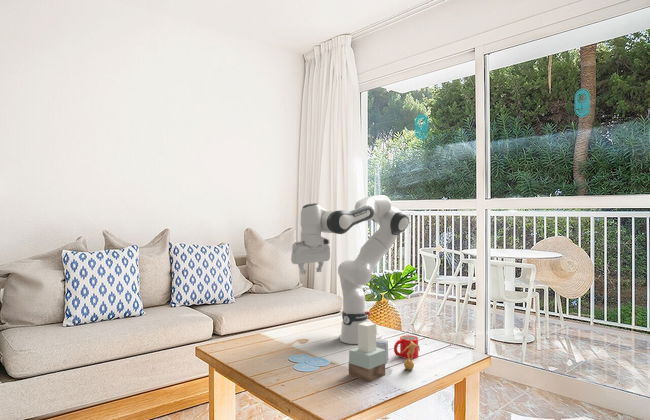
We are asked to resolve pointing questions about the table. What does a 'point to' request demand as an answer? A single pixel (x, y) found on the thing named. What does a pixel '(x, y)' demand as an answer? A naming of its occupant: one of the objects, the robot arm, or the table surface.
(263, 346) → the table surface
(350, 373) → the tower bottom
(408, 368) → the figurine
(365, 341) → the tall block
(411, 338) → the mug
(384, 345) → the medicine box
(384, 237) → the robot arm
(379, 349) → the tower top
